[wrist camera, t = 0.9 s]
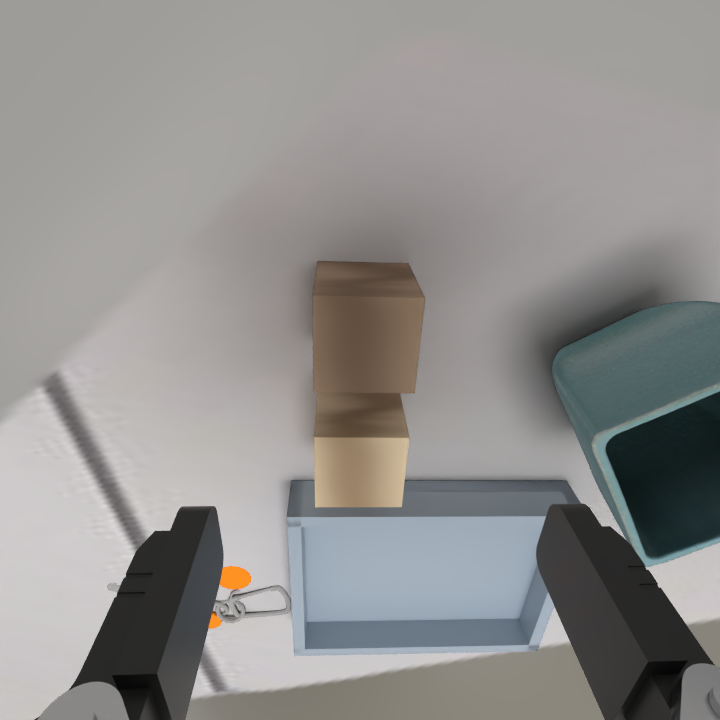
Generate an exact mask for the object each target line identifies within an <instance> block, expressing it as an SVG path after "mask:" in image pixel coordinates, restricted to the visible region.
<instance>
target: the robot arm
mask: <svg viewBox="0 0 720 720" xmlns="http://www.w3.org/2000/svg"><path fill="white" fill-rule="evenodd" d="M536 559H537V565H538V569H539V572H540V575H541V577H542V579H543V581H544V584H545V586H546V588H547V590H548V593H549V595H550V597H551V599H552V602H553V604H554V606H555V608H556V611H557V613H558V615H559V617H560V620H561V622H562V624H563V626H564V629H565V631H566V633H567V635H568V638H569V640H570V642H571V644H572V647H573V649H574V651H575V653H576V656H577V658H578V660H579V662H580V665H581V667H582V669H583V671H584V674H585V676H586V678H587V680H588V683H589V685H590V687H591V689H592V692H593V694H594V696H595V698H596V701H597V703H598V705H599V707H600V709H601V712H602V714H603V716H604V719H605V720H720V667H717V666H715V665H714V664H713V662H712V661H711V660H710V658H709V657H708V656H707V654H706V653H705V651H704V650H703V649H702V647H701V646H700V644H699V643H698V641H697V640H696V638H695V637H694V635H693V634H692V633H691V631H690V630H689V628H688V627H687V625H686V624H685V622H684V621H683V619H682V618H681V617H680V615H679V614H678V612H677V611H676V609H675V608H674V606H673V605H672V603H671V602H670V601H669V599H668V598H667V596H666V595H665V593H664V592H663V590H662V589H661V588H659V587H658V585H657V584H658V583H657V582H656V580H655V579H654V577H653V576H652V574H651V573H650V571H649V570H646V568H645V564H644V563H643V561H642V560H641V558H640V557H639V555H638V554H637V553H636V551H635V550H634V548H633V547H632V545H631V544H630V543H629V542H627V541H626V540H625V539H624V538H623V537H622V536H621V535H619V534H618V533H617V532H616V531H615V530H614V529H612V528H611V527H610V526H607V527H602V526H601V525H600V523H599V522H598V520H597V518H596V517H595V515H594V514H593V512H592V511H591V509H590V508H589V507H588V506H587V505H585V504H552V505H551V506H550V507H549V509H548V512H547V515H546V518H545V521H544V525H543V528H542V531H541V534H540V537H539V540H538V544H537V548H536ZM222 569H223V546H222V540H221V534H220V527H219V521H218V515H217V510H216V508H215V507H214V506H194V507H181V508H180V509H179V511H178V513H177V515H176V518H175V520H174V523H173V525H172V528H171V530H170V531H155V532H154V533H153V534H152V535H151V536H150V537H149V538H148V539H147V540H146V541H145V542H144V543H143V544H142V545H141V547H140V548H139V549H138V550H137V551H136V553H135V555H134V557H133V560H132V562H131V564H130V566H129V568H128V570H127V572H126V577H125V578H124V579H123V581H122V583H121V585H120V588H119V590H118V592H117V597H115V598H114V600H113V603H112V605H111V607H110V609H109V611H108V613H107V616H106V618H105V620H104V622H103V624H102V626H101V629H100V631H99V633H98V635H97V637H96V639H95V641H94V644H93V646H92V648H91V650H90V652H89V654H88V657H87V659H86V661H85V663H84V665H83V667H82V670H81V672H80V673H79V675H78V677H77V679H76V681H75V682H74V684H73V685H72V687H71V688H70V689H69V690H68V691H67V692H65V693H64V694H63V695H61V696H60V697H58V698H57V699H56V700H55V701H54V702H52V703H51V704H50V705H49V706H48V707H47V708H46V710H45V711H44V712H43V713H42V714H41V716H40V717H38V718H36V719H35V720H185V718H186V714H187V710H188V706H189V702H190V698H191V694H192V691H193V687H194V683H195V679H196V675H197V671H198V667H199V663H200V659H201V655H202V651H203V647H204V643H205V639H206V635H207V631H208V627H209V623H210V619H211V615H212V611H213V608H214V604H215V600H216V596H217V592H218V588H219V584H220V580H221V575H222Z"/></svg>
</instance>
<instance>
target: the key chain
mask: <svg viewBox="0 0 720 720" xmlns="http://www.w3.org/2000/svg"><path fill="white" fill-rule="evenodd" d="M250 582H251V576H250V574H249V573H248V572H247V571H246V570H245V569H242V568H240V567H234V566H229V567H224V568H223V569H222V575H221V580H220V585H221V586H222V587H225V588H228V589H241V588H244V587H246V586H248V584H249V583H250ZM107 588H108V590H111V591H115V592H118V590H119V588H120V586H119V585H117V583H113V584H111V583H110V584H109V585H108V586H107ZM269 590H271V591H276V590H278V591H279V592H281V594H282V595H283V597H284V598H285V601H286V609H284V610H279V611H268V612H256V613H245V608H244V605H243V604H242V603H241V602H240V601H237V600H239V599H241V598H244V597H247V596H251V595H254V594H258V593H262V592H265V591H269ZM238 591H240V590H235V591H233V592H232V593H231V595H230V598H229V600H223V601H220V602H218V601H215V604H214V605H216V609H215V611H216V613H213V612H212V615H211V619H210V623H209V627H208V628H216V627H218V626H220V624H221V622H222V621H224V622H226V623H235V622H238V621H240V620H241V619H242V618H252V617H265V616H275V615H283V614H287V613H289V612H290V610H291V600H290V598H289V596H288V594H287V593H286V591H285V590H284V589H283V588H282V587H281V586H270V588H266V589H262V590H258V591H255V592H251V593H247V594H243V595H236V596H233V594H234V593H236V592H238ZM232 596H233V597H232ZM225 603H229V604H230V607H231V610H232V612H233V614H234V615H235V617H236V618H227V617H225V616H224V615H226V614H227V613H228V612H229V608H228V606H227V605H226V604H225ZM235 604H236V605H238V607H239V608H240V609H241V613H239V612H238V611H237V609H236V607H235ZM220 607H222V608H224V609H225V612H223V613H220Z"/></svg>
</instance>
